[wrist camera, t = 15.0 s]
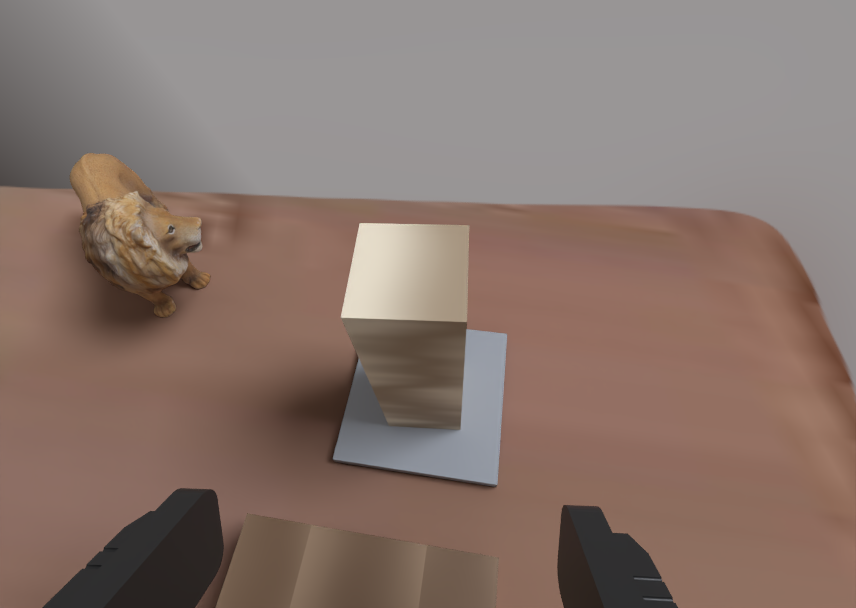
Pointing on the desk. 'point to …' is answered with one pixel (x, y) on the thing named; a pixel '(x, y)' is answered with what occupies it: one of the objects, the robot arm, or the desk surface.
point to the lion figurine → (134, 232)
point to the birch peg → (411, 319)
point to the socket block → (350, 571)
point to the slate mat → (426, 447)
